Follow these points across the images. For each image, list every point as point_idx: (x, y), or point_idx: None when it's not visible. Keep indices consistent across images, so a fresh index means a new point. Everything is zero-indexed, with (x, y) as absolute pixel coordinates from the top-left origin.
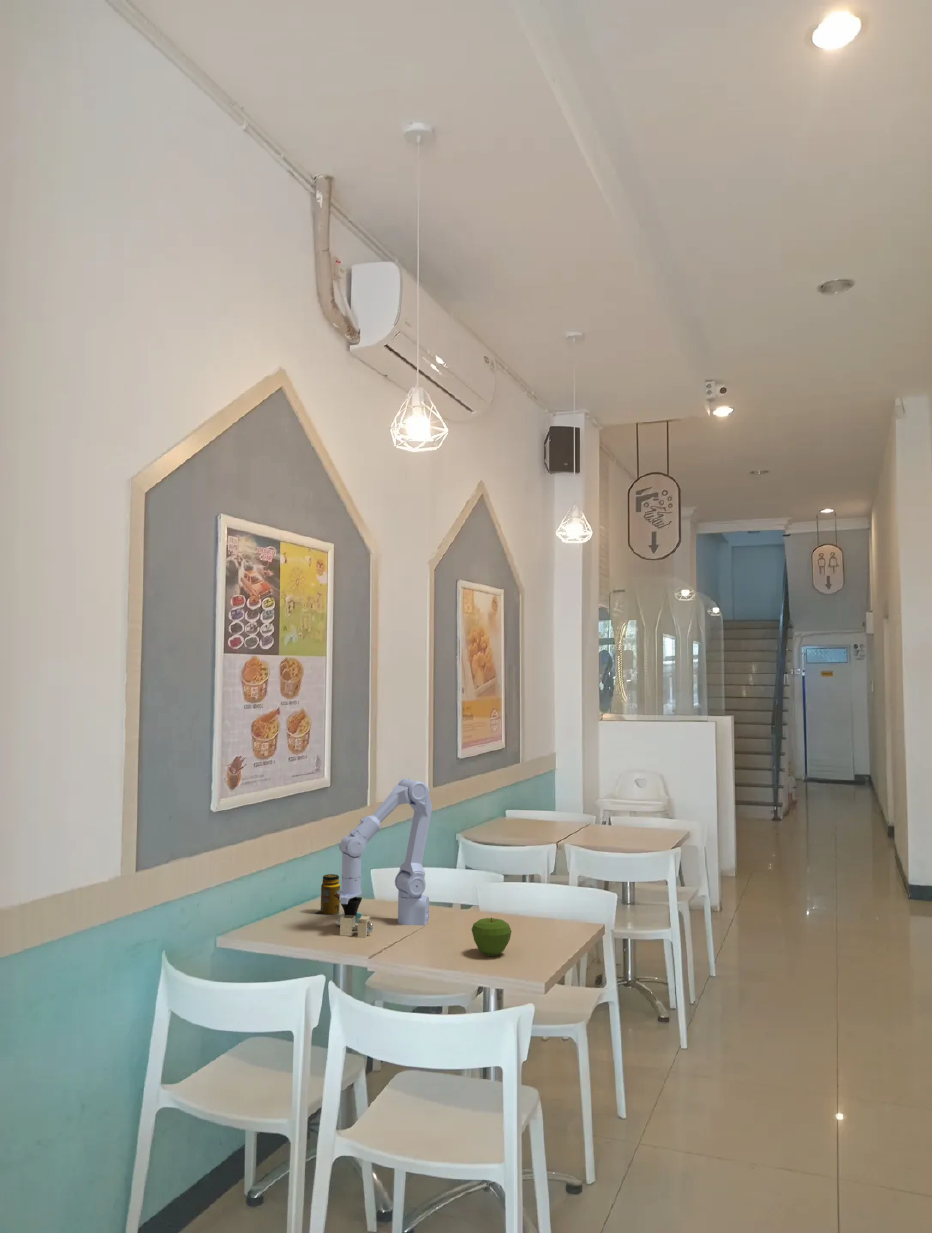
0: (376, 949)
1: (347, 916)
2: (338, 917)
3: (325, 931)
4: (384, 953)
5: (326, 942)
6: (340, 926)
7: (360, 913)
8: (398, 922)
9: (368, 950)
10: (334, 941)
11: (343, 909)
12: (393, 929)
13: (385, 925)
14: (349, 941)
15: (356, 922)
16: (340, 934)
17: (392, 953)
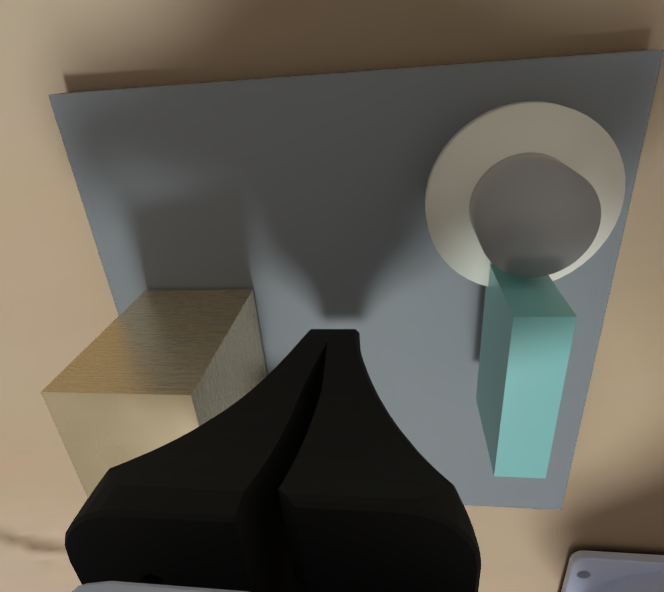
0: (62, 527)
1: (135, 447)
2: (507, 172)
3: (336, 37)
4: (27, 563)
5: (6, 208)
6: (102, 335)
7: (499, 469)
8: (629, 587)
9: (22, 498)
10: (66, 262)
11: (215, 416)
12: (515, 547)
13: (634, 493)
14: None
15: (480, 364)
16: (142, 298)
17: (49, 588)
